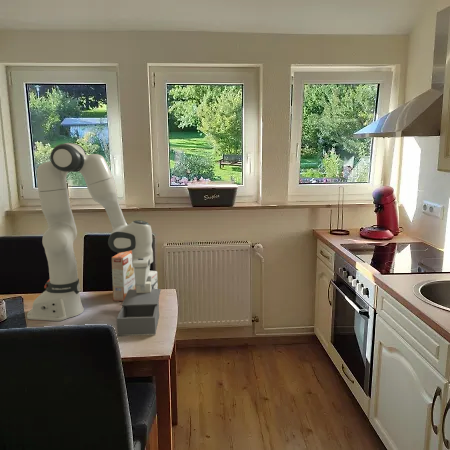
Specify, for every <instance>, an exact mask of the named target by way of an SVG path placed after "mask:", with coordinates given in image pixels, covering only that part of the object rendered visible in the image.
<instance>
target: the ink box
mask: <svg viewBox="0 0 450 450" xmlns="http://www.w3.org/2000/svg"><path fill="white" fill-rule="evenodd" d="M147 282H151V289H159V288H158V271H156V270H150V272H149V275H148V278H147Z"/></svg>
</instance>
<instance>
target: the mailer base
mask: <svg viewBox="0 0 450 450" xmlns="http://www.w3.org/2000/svg"><path fill="white" fill-rule="evenodd" d="M159 303H160V301H159V300H158V304H157V305H153V306H122V305H121V307H120V311H119V312H118V315H117V317H116V330H117V331H116V333H117V337H128V336H129V337H134V336H135V337H136V336H137V337H138V336H140V337H141V336H156V334H157V328H158V323H159V318H160V304H159Z"/></svg>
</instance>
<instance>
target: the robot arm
mask: <svg viewBox="0 0 450 450" xmlns="http://www.w3.org/2000/svg"><path fill="white" fill-rule="evenodd" d="M49 155H50V156H49V157H50V158H49V159H50V161H45V162H43V163H41V164H40V165H39V166H38V167H37V170H36V176H37V177H36V179H37V180H36V182H37V189H38V190H37V191H38V196H39V202H40V207H41V212H42V214H43V216H44V218H45V220H46V225H47V229H46V230H45V231H44V233H43V234H42V241H41V242H42V246H43V248H44V253H45V256H46V260H47V266H48V273H49V276H48V277H49V279H48V280H47V281H46V283H45V285H44V289H45V290H44V291H43V292H41V294H39V295H38V296H37V297H36V298H35V299H34V301H33V303H32V308H31V309H29V310H28V312H27V314H26V319H27V320H32V321H33V320H35V321H53V322H54V321H55V322H61V321H65V320H67V319H69V318H73V317H76V316H79V315H81V314H82V313H84V311H85V309H84V306H83V303H82V300H81V294H80V291H81V287H80V286H81V285H80V278H78V277H79V276H78V261H77V259H76V256H75V250H74V242H75V240H76V239H77V236H78V229H77V225H76V222H75V218H74V214H73V211H72V208H71V202H70V196H69V190H68V182H67V175H68V173H80V174H81V175H82V178H83V179H84V183H85V185H86V188H87V190H88V192H89V194H90V196H91V198H92V200H93V201H94V202H96V203H97V204H99V205H101V206H102V207H103V208H104V210H105V212H106V214H107V216H108V220H109V223H110V224H111V228H112V230H111V233H110V235H109V237H108V241H107V244H108V247H109V249H110V250H111V251H113V252H115V253H117V254H118V253H121V252H126V251H132V266H133V268H134V274H135V286H136V285H137V286H140V287H141V291H145V283H146V282H147V278H148V275H149V272H150V271H151V270H150V269H151V264H153V262H154V251H153V231H152V230H153V229H152V226H151V224H150V223H149V222H148V221H145V220H133V221H132V222H130V223H128V222H127V220H126V218H125V215H124V213H123V211H122V208H121V205H120V201H119V197H118V193H117V191H118V190H117V187H116V181H115V179H114V176H113V174H112V171H111V168H110V167H109V165H108V162H107V161H106V159H105V157H104V156H102V155H101V154H98V153H91V154H87V152H86V150H85V148H83V146H81V145H80V144H77V143H73V142H65V143H60V144H58V145H56V146H54V148H52V150H51V152H50V154H49Z"/></svg>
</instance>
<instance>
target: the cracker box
mask: <svg viewBox="0 0 450 450" xmlns="http://www.w3.org/2000/svg"><path fill="white" fill-rule="evenodd" d="M111 272H112V273H111V275H112V276H111V277H112V298H113V299H112V300H113V301H117V302H118V301H119V302H123V301H124V299H125V297H126V294H127V292H128V290H135V289H136V282H135V274H134V268H133V266H132V250H131V251H126V252H121V253H118V252H117V254H115V255H114V256H111Z"/></svg>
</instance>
